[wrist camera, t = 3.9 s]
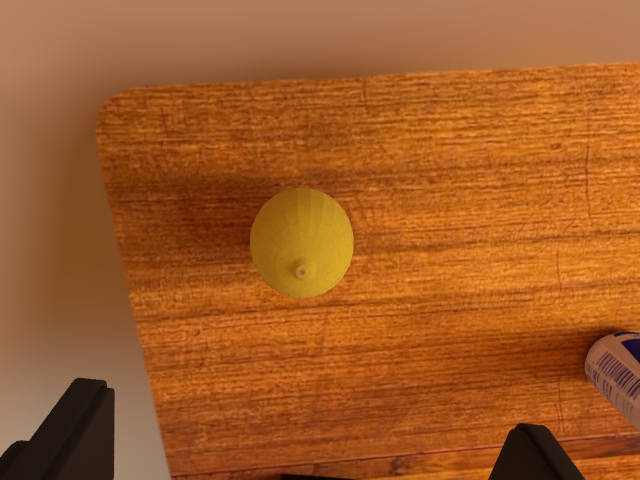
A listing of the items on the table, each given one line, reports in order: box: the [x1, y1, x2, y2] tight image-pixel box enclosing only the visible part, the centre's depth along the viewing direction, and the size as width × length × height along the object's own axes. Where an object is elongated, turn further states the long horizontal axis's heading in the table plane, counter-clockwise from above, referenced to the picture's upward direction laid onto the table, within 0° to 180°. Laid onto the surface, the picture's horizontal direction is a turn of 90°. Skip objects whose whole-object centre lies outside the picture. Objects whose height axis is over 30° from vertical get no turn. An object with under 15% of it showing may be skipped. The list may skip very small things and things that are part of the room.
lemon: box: [250, 188, 353, 298], centre depth 22 cm, size 6×6×8 cm
